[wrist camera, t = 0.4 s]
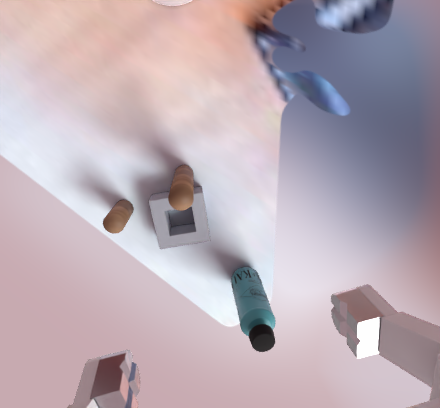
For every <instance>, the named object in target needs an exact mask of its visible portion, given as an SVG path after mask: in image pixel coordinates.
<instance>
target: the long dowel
mask: <svg viewBox="0 0 440 408" xmlns="http://www.w3.org/2000/svg"><path fill="white" fill-rule="evenodd" d="M193 200H194V188H193V170H192V169H191V168H190V167H189V166H187V165H181V166H179V167H178V168H177V169H176V171H175V174H174V178H173V181H172V185H171V189H170V192H169V196H168V201H169V204H170V205H171V206H172V207H173V208H174V209H176V210H186V209H188V208H189V207H190V206H191V205H192V203H193Z"/></svg>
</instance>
